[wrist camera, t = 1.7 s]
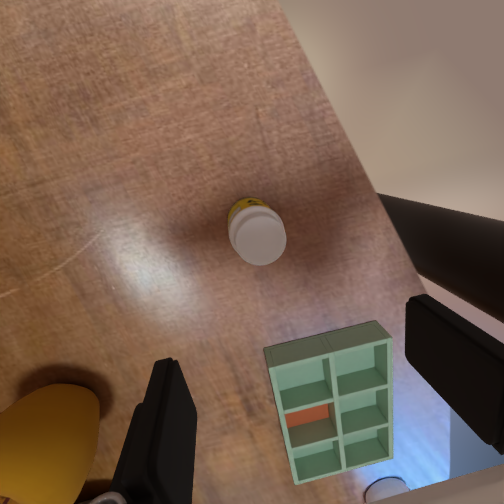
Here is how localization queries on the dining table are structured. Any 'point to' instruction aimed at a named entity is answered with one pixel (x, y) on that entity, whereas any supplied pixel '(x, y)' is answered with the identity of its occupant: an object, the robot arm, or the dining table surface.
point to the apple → (48, 445)
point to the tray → (334, 399)
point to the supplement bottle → (256, 231)
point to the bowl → (86, 502)
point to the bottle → (385, 489)
